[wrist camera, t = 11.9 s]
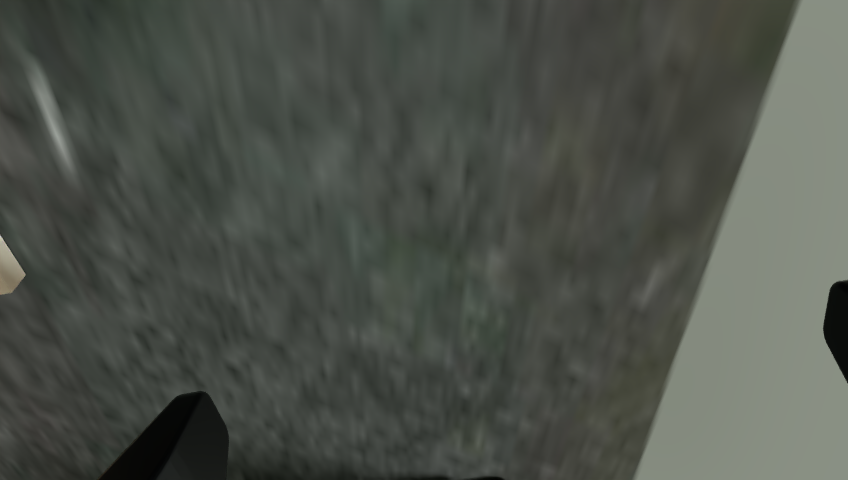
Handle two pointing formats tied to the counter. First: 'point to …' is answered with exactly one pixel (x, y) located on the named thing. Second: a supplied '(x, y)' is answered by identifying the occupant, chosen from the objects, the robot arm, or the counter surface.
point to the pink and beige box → (9, 270)
